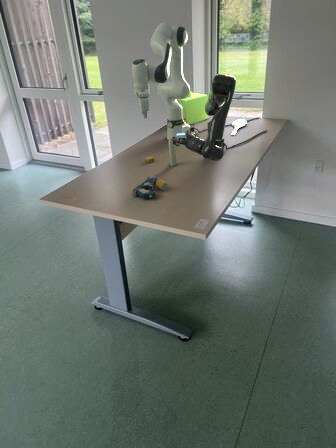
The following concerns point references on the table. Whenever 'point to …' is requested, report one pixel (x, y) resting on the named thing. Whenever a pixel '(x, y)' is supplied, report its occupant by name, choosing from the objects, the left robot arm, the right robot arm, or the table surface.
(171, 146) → the pale cream cylinder
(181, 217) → the table surface
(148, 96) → the left robot arm
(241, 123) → the spoon
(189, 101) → the lime green box
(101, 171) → the table surface
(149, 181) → the spray gun
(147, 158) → the lid
